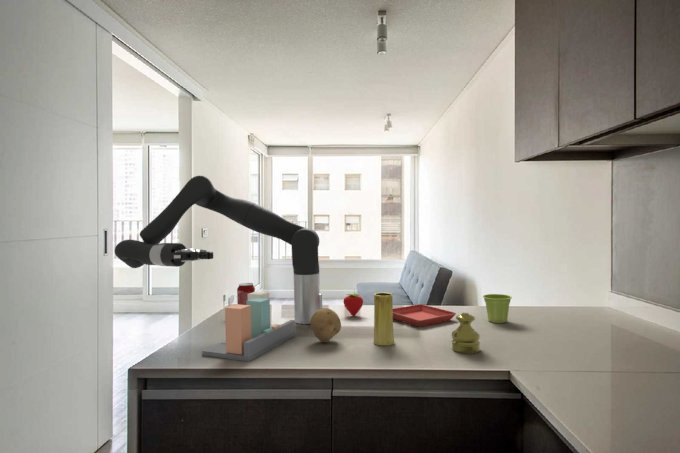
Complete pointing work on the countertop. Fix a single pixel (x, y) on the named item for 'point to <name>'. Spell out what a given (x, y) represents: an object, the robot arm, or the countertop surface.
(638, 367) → the countertop surface
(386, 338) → the vase
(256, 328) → the key teal
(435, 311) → the plant saucer
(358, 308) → the strawberry
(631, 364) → the countertop surface
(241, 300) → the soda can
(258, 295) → the key cream
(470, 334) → the olive glossy tiered piece
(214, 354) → the grey divided tray
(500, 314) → the plant pot
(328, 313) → the natural sponge
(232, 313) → the key terracotta
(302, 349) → the countertop surface
